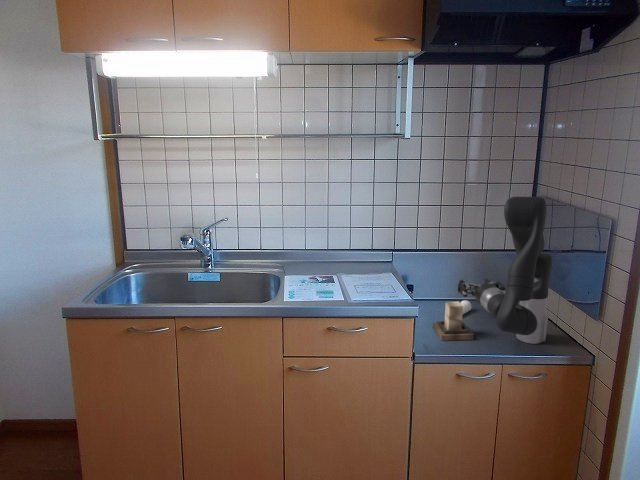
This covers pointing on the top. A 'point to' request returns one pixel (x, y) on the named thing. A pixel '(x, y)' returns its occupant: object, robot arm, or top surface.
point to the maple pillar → (453, 315)
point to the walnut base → (452, 332)
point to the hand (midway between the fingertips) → (473, 281)
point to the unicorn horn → (466, 306)
